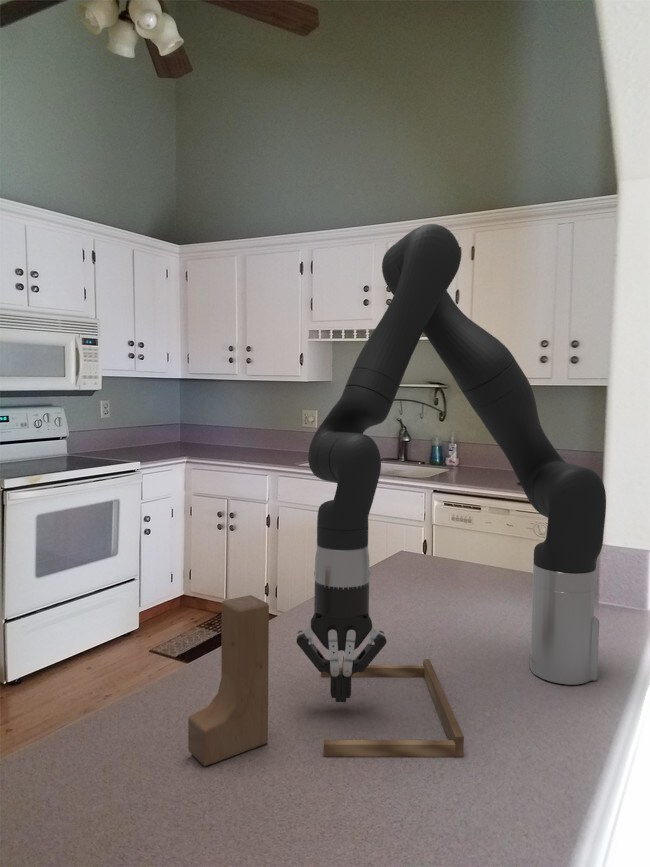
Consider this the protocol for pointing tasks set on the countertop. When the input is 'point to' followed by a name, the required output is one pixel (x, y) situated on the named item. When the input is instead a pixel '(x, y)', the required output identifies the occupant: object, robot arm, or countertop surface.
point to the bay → (405, 747)
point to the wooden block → (236, 686)
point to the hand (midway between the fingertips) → (340, 699)
